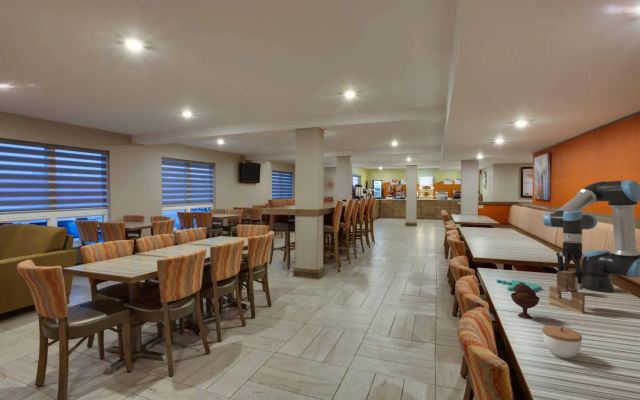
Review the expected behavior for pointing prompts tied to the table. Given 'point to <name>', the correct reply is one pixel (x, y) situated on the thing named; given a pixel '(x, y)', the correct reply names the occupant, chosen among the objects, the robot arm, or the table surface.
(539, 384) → the table surface
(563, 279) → the walnut plate
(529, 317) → the ice cream bowl
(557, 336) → the lidded jar
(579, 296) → the oak board
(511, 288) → the alien figure
